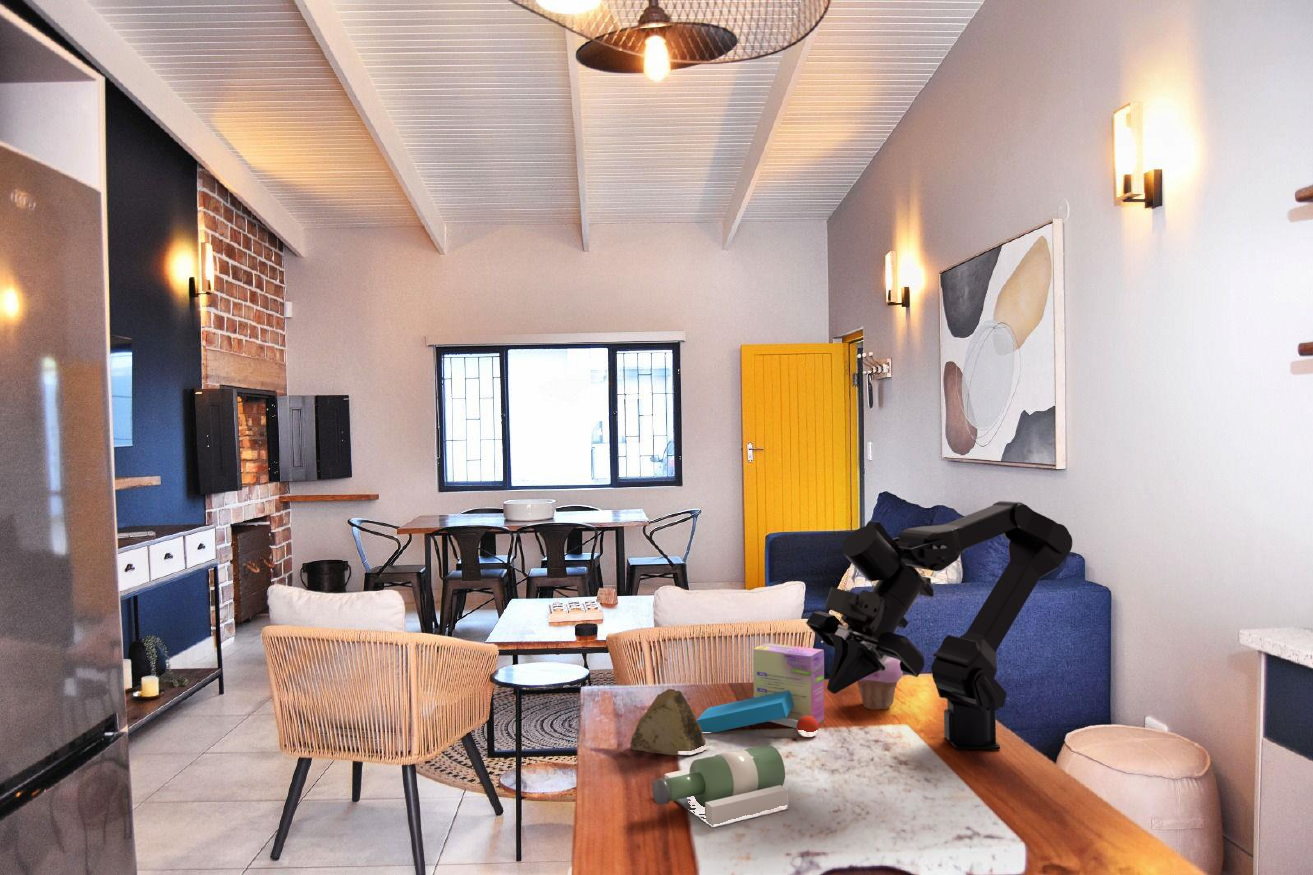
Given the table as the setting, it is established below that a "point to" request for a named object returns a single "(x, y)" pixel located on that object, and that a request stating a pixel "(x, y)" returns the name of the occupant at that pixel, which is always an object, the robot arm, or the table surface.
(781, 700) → the lever
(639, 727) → the rock
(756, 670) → the box
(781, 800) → the rest
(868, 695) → the cupcake
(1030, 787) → the table surface
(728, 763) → the bottle
